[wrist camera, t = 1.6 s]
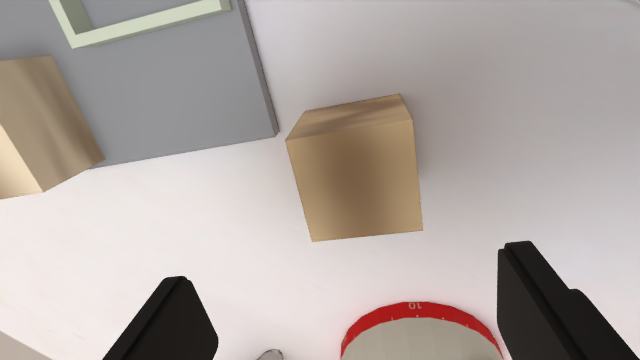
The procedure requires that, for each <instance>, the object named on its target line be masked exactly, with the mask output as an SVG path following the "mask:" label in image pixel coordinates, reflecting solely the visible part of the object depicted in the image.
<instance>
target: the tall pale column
mask: <svg viewBox="0 0 640 360" xmlns="http://www.w3.org/2000/svg"><path fill="white" fill-rule="evenodd" d="M258 360H283V357H282V353H281V352H280V351H279V350H270V351H266V352H265V353H264V354H263V355H262V356H261V357H260V358H259V359H258Z"/></svg>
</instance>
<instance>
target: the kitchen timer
mask: <svg viewBox="0 0 640 360" xmlns="http://www.w3.org/2000/svg"><path fill="white" fill-rule="evenodd" d="M341 360H504V359H503V356H502V354H501V351H500V349H499V347H498V344H497V342H496V341H495V339H494V337H493V336H492V334H491V332H490V331H489V329H488V328H487V327H486V326H485V325H483V324H482V323H481V322H480V321H478V320H477V319H476V318H475V317H473V316H472V315H470V314H468V313H465V312H463V311H461V310H458V309H456V308H454V307H451V306H446V305H441V304H436V303H431V302H402V303H398V304H393V305H389V306H385V307H381V308H378V309H376V310H374V311H372V312H370V313H368V314H366V315H364V316H362V317H361V318H360V319H359V320H358V321H357V322H356V323H355V324H354V325H352V326H351V327H350V328H349V329H348V331H347V333H346V335H345V338H344V340H343V342H342V347H341Z"/></svg>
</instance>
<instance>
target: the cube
mask: <svg viewBox="0 0 640 360" xmlns="http://www.w3.org/2000/svg"><path fill="white" fill-rule="evenodd" d="M285 142H286V146H287V149H288V153H289V157H290V161H291V165H292V168H293V172H294V176H295V180H296V184H297V187H298V191H299V195H300V199H301V202H302V206H303V210H304V214H305V218H306V221H307V225H308V229H309V233H310V237H311V240H312V242H317V241H326V240H336V239H346V238H355V237H365V236H375V235H384V234H394V233H404V232H414V231H423V223H422V213H421V202H420V192H419V181H418V171H417V160H416V149H415V139H414V128H413V119H412V117H411V115H410V113H409V111H408V109H407V107H406V105H405V103H404V102H403V100H402V98H401V96H400V94H395V95H390V96H384V97H379V98H374V99H368V100H363V101H357V102H352V103H346V104H341V105H336V106H330V107H325V108H319V109H314V110H308V111H305V112H304V113H303V115H302V116H301V118H300V119H299V121H298V122H297V124H296V125H295V127H294V128H293V130H292V131H291V133H290V134H289V136H288V137H287V139H286V140H285Z"/></svg>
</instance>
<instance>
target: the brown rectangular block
mask: <svg viewBox="0 0 640 360" xmlns="http://www.w3.org/2000/svg"><path fill="white" fill-rule="evenodd" d="M103 160H105V157H104V155H103V153H102V151H101V149H100V147H99V145H98V143H97V142H96V140H95V138H94V136H93V134H92V132H91V130H90V128H89V126H88V124H87V122H86V120H85V118H84V116H83V114H82V112H81V111H80V109H79V107H78V105H77V103H76V101H75V99H74V97H73V95H72V93H71V91H70V89H69V87H68V85H67V83H66V81H65V80H64V78H63V76H62V74H61V72H60V70H59V68H58V66H57V64H56V62H55V60H54V58H53V56H43V57H34V58H24V59H15V60H5V61H0V199H6V198H12V197H18V196H24V195H30V194H37V193H43V192H45V191H47V190H49V189H51V188H53V187H54V186H56V185H58V184H60V183H62V182H64V181H66V180H68V179H70V178H71V177H73V176H75V175H77V174H79V173H81V172H83V171H85V170H87V169H88V168H90V167H92V166H94V165H96V164H98V163H100V162H102V161H103Z"/></svg>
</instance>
